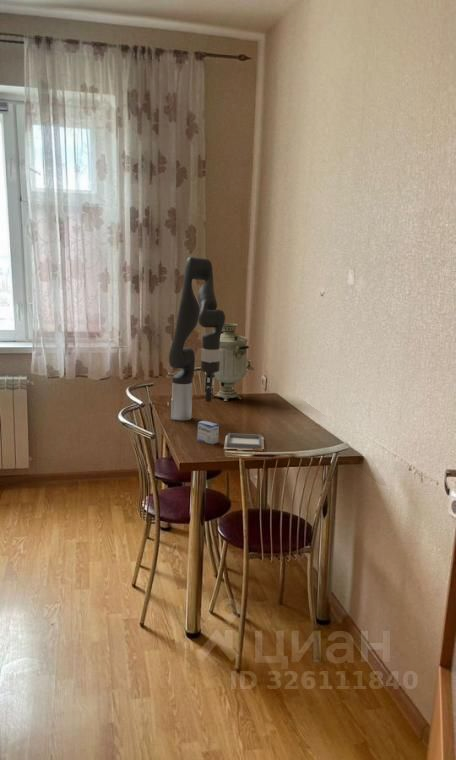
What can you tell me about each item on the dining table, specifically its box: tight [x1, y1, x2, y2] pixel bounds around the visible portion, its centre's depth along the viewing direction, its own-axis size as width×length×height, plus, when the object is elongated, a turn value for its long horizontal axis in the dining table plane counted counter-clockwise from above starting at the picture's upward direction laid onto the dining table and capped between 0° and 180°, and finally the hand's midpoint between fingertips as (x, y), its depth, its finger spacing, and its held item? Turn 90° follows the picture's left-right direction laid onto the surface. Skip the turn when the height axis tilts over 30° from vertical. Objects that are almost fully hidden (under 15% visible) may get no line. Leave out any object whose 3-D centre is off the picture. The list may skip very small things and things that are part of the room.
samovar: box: [213, 322, 255, 402], centre depth 323 cm, size 30×26×40 cm
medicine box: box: [196, 420, 220, 445], centre depth 251 cm, size 8×4×9 cm, turn 53°
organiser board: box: [223, 432, 265, 451], centre depth 250 cm, size 16×17×3 cm
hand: (209, 399), depth 247 cm, fingers open, 7 cm apart
